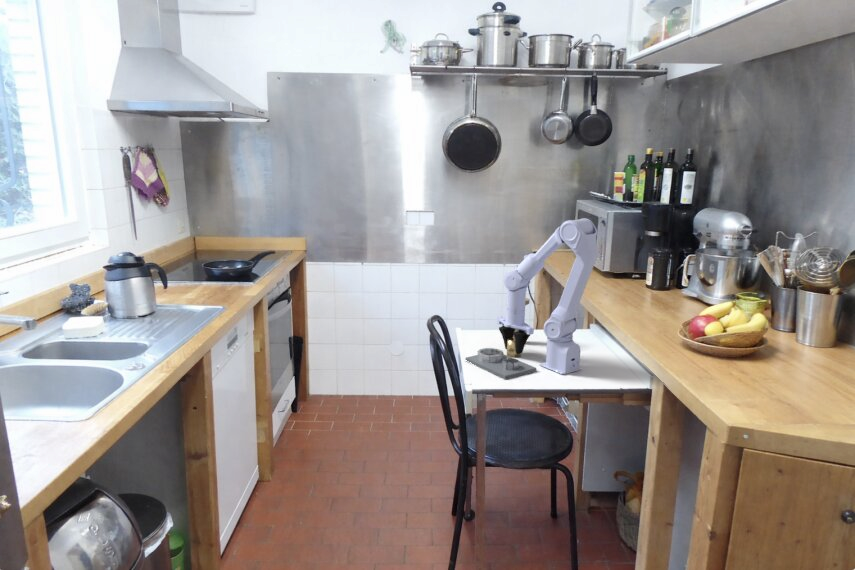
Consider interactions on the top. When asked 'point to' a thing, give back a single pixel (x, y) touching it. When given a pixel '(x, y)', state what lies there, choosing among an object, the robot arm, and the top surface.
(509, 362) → the narrow collar
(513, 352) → the brass peg
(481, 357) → the wide collar
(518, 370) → the board
